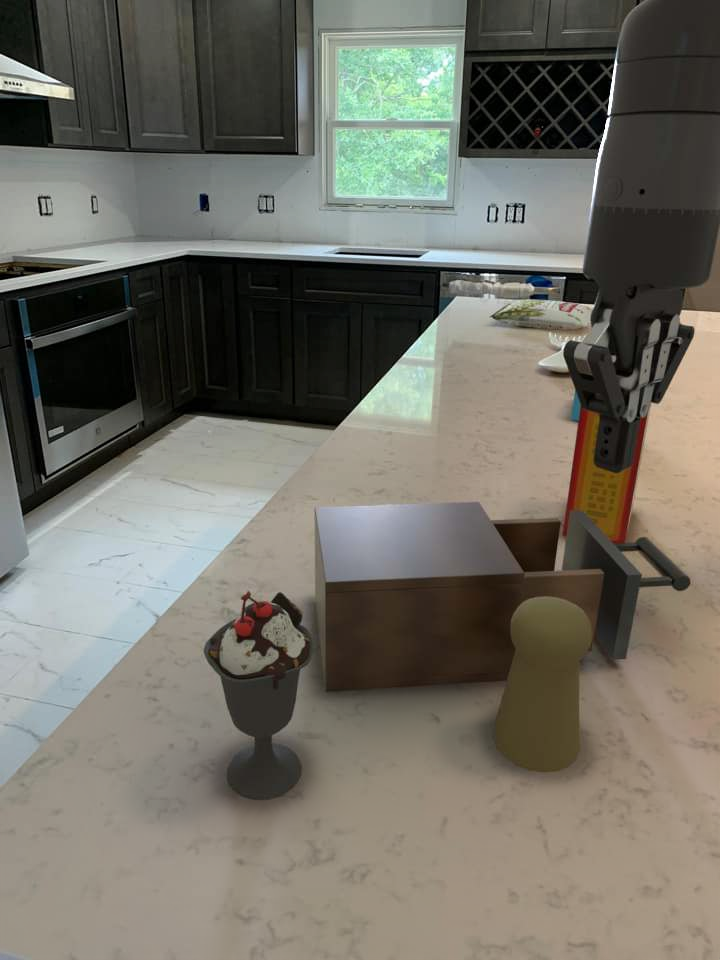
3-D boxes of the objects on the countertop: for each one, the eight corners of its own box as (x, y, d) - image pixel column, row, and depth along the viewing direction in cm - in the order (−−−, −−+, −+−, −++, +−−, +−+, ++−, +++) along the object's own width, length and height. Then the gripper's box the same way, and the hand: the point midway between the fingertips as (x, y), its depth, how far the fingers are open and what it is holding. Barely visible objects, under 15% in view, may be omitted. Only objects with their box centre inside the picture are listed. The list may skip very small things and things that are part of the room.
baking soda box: (575, 503, 89) (593, 376, 83) (631, 513, 87) (654, 383, 81) (562, 536, 81) (581, 397, 75) (623, 548, 79) (649, 405, 73)
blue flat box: (579, 402, 130) (584, 368, 127) (588, 403, 129) (593, 369, 127) (570, 421, 119) (575, 384, 117) (580, 422, 119) (585, 385, 116)
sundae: (228, 826, 45) (213, 617, 39) (204, 751, 50) (188, 559, 44) (329, 793, 47) (329, 592, 41) (295, 726, 53) (291, 541, 47)
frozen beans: (510, 292, 207) (601, 300, 197) (508, 313, 210) (598, 321, 200) (489, 305, 190) (587, 314, 180) (487, 328, 192) (584, 337, 183)
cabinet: (470, 595, 69) (478, 501, 66) (512, 681, 58) (525, 573, 54) (315, 602, 68) (314, 507, 64) (325, 693, 56) (325, 582, 52)
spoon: (586, 347, 171) (588, 332, 170) (582, 380, 143) (584, 363, 142) (547, 344, 174) (548, 329, 172) (535, 376, 145) (537, 359, 144)
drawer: (628, 582, 70) (642, 507, 67) (693, 655, 60) (712, 571, 57) (431, 591, 68) (436, 515, 65) (461, 669, 57) (469, 582, 54)
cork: (484, 759, 50) (499, 623, 46) (500, 704, 55) (514, 577, 51) (575, 783, 48) (599, 644, 44) (582, 723, 53) (604, 594, 49)
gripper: (662, 205, 37) (610, 511, 44) (764, 203, 46) (707, 461, 52) (539, 199, 42) (510, 474, 49) (651, 198, 51) (613, 434, 57)
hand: (612, 467), depth 51 cm, fingers closed
